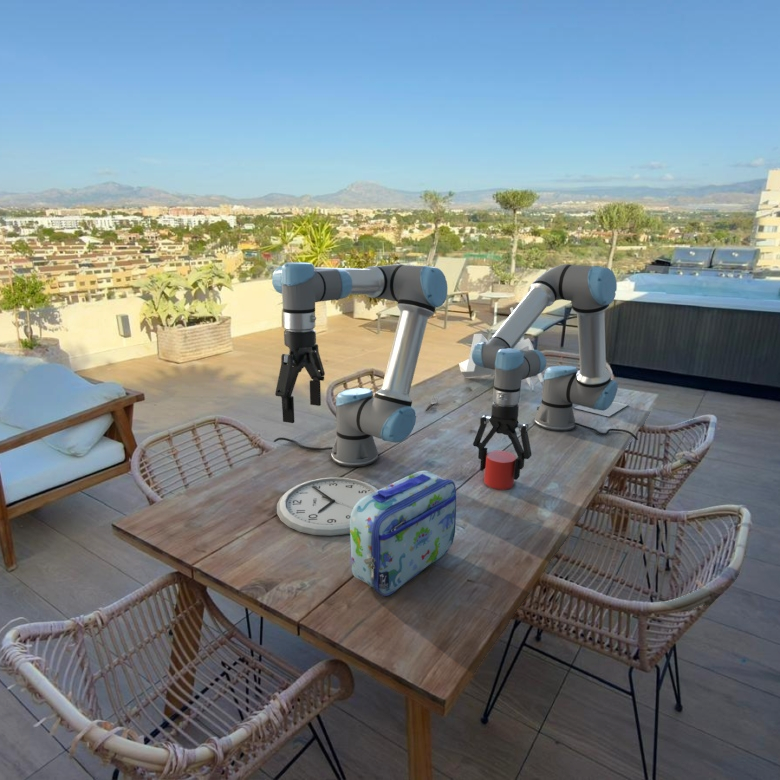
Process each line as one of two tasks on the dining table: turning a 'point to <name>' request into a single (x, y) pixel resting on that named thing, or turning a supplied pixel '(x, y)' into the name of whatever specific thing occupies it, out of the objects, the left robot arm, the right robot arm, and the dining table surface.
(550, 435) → the dining table surface
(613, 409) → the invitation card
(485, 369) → the white plastic object
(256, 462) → the dining table surface
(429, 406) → the fork
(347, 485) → the wall clock
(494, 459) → the canister
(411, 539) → the lunch box
